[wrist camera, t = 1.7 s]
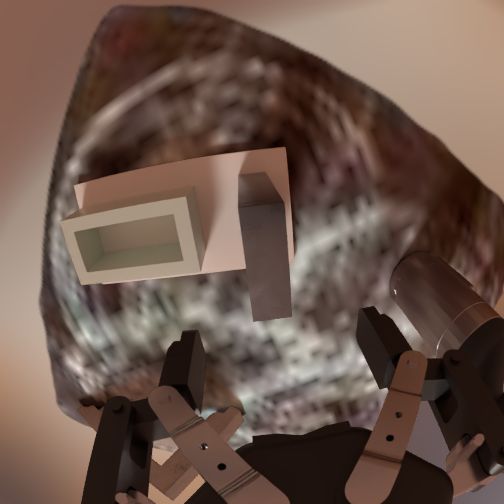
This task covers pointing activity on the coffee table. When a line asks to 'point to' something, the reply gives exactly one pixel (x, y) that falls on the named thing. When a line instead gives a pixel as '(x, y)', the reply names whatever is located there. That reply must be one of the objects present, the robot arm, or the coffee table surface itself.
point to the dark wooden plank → (264, 246)
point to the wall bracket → (177, 466)
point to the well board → (168, 218)
